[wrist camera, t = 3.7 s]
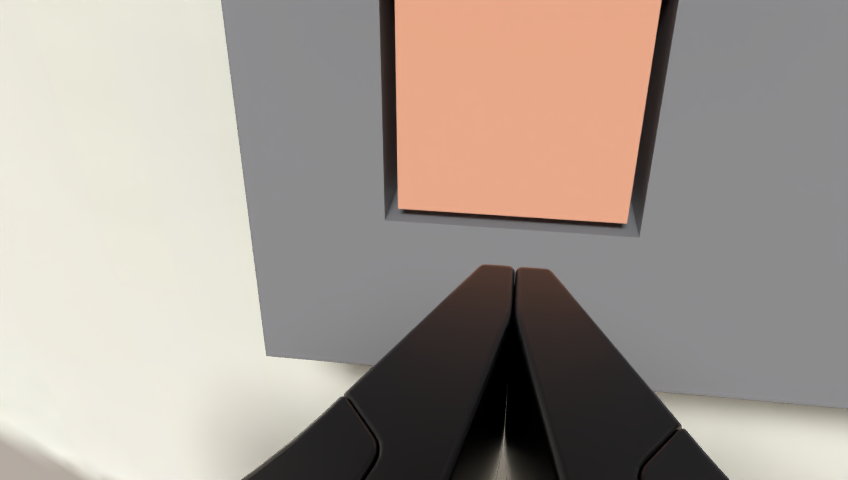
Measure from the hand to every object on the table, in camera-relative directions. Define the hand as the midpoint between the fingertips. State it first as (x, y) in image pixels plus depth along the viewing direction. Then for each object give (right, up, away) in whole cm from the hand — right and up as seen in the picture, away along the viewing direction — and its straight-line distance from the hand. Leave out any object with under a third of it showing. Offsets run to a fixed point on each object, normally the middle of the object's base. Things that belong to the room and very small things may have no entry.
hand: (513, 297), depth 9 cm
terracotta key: (+1, +5, +9) cm, 11 cm away
